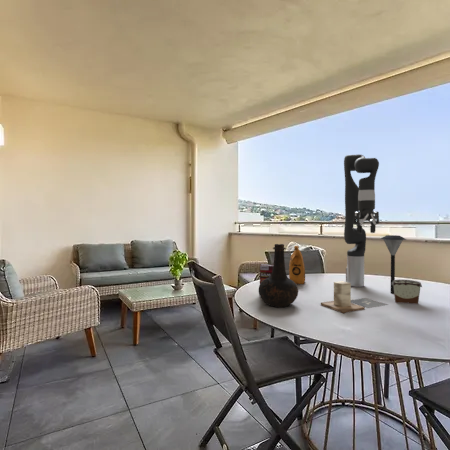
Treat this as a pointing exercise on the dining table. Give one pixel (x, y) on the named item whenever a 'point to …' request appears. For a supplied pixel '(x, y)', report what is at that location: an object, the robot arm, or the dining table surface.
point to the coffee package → (297, 267)
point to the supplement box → (265, 271)
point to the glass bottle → (278, 283)
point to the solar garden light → (392, 252)
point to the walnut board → (342, 309)
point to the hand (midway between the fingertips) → (366, 233)
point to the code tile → (367, 303)
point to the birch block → (342, 293)
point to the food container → (406, 291)
